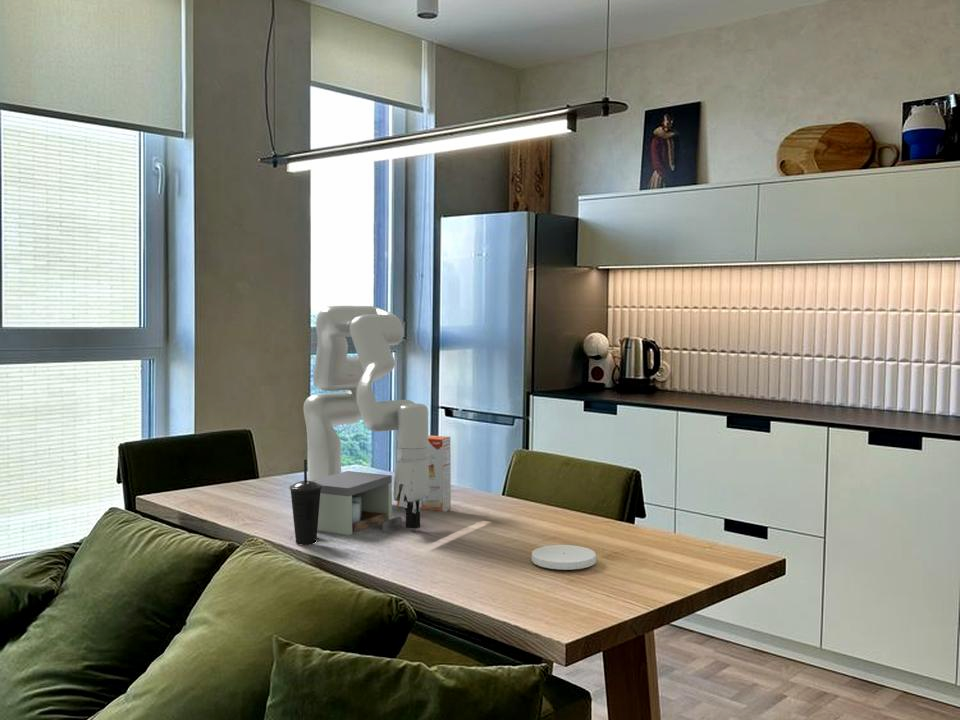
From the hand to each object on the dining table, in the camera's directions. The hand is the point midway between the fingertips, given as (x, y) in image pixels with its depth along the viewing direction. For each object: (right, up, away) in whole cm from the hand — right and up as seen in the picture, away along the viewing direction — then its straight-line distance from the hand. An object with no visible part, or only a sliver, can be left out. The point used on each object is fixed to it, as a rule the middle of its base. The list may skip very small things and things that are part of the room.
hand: (412, 527), depth 222 cm
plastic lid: (+35, -4, -25) cm, 43 cm away
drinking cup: (-25, -3, -7) cm, 26 cm away
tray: (-13, -1, +6) cm, 14 cm away
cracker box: (+1, -1, +27) cm, 27 cm away
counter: (-12, -2, +5) cm, 13 cm away
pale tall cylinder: (-17, 0, +11) cm, 20 cm away
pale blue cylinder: (-16, -1, +4) cm, 16 cm away
